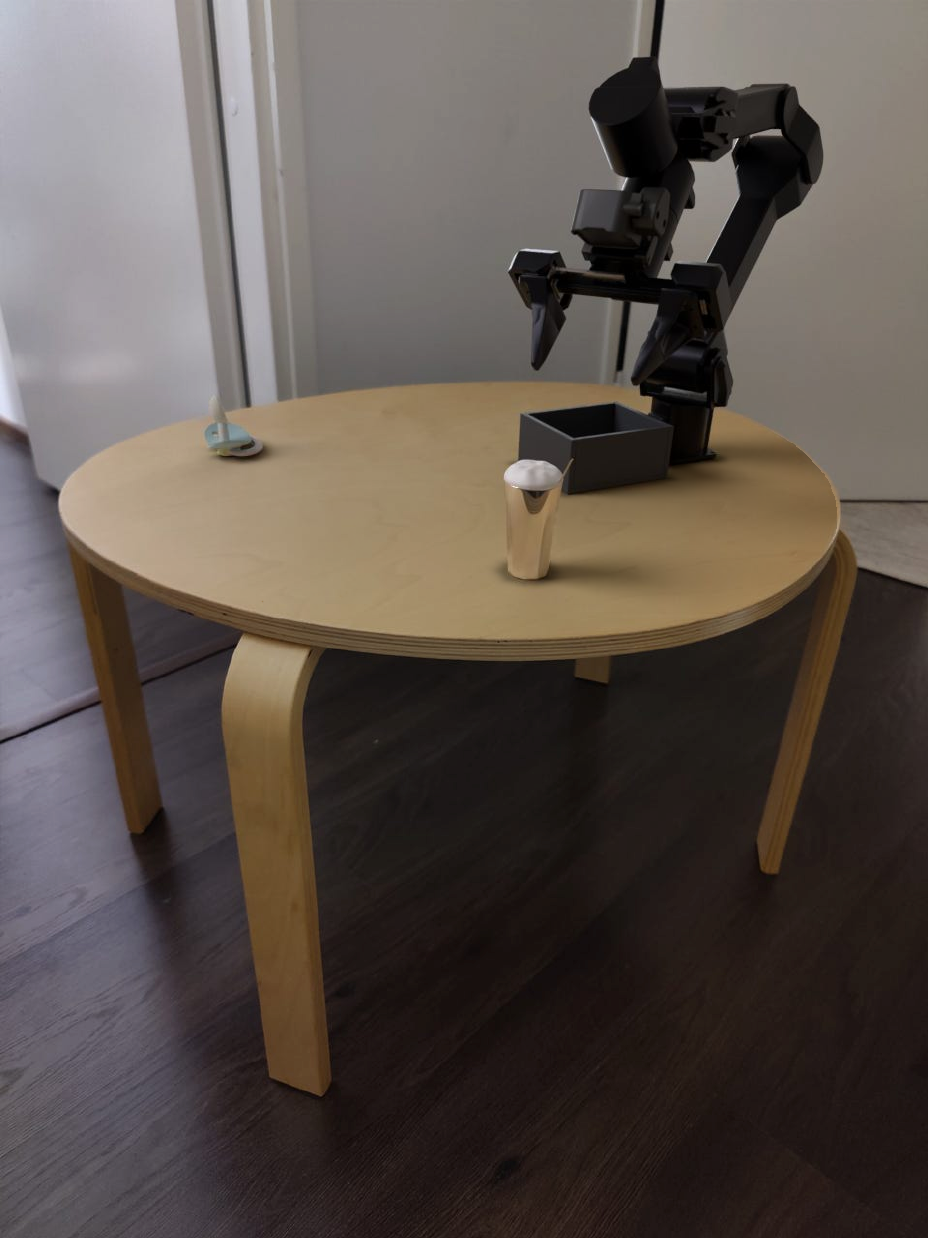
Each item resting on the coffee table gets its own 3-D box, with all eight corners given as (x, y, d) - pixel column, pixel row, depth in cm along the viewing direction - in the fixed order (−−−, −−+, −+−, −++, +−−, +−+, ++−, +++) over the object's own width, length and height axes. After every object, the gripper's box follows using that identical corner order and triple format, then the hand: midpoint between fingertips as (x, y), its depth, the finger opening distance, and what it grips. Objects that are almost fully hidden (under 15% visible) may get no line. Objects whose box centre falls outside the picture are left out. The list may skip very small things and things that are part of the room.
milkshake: (549, 591, 67) (558, 468, 62) (489, 574, 69) (493, 454, 64) (574, 570, 70) (584, 451, 65) (517, 554, 73) (522, 439, 68)
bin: (611, 449, 98) (616, 401, 95) (667, 477, 90) (674, 426, 87) (517, 463, 93) (520, 412, 91) (567, 494, 85) (571, 440, 83)
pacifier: (258, 440, 99) (204, 443, 97) (254, 385, 96) (198, 387, 94) (267, 460, 93) (210, 463, 91) (263, 402, 90) (204, 404, 88)
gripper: (520, 144, 72) (451, 305, 70) (742, 147, 63) (671, 332, 61) (559, 235, 82) (499, 379, 80) (756, 248, 73) (695, 411, 71)
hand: (582, 375), depth 73 cm, fingers open, 9 cm apart
